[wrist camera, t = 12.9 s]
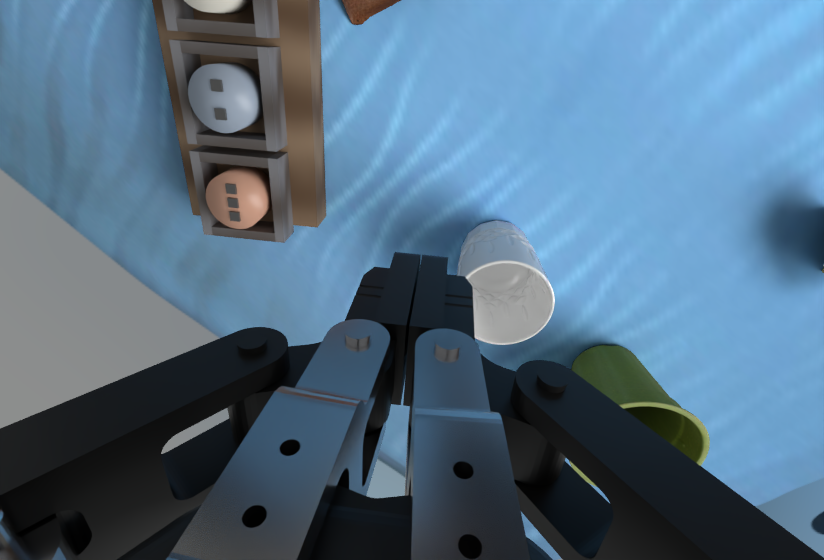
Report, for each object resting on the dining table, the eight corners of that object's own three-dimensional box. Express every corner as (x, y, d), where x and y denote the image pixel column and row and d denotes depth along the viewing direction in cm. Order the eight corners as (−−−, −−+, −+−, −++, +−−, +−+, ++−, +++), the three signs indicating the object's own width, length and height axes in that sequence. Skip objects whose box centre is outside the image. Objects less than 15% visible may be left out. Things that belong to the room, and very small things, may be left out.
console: (160, -85, 33) (108, -105, 28) (316, -75, 32) (291, -94, 27) (210, 210, 44) (179, 231, 40) (326, 222, 44) (309, 245, 39)
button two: (203, 59, 34) (180, 61, 31) (263, 64, 34) (245, 67, 31) (213, 123, 37) (192, 130, 34) (269, 128, 36) (253, 136, 33)
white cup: (448, 278, 45) (445, 335, 37) (464, 207, 42) (464, 252, 33) (523, 292, 45) (538, 352, 37) (546, 221, 41) (568, 270, 33)
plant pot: (580, 310, 46) (613, 385, 36) (682, 347, 47) (741, 429, 37) (529, 388, 51) (545, 471, 42) (620, 419, 52) (656, 508, 42)
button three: (219, 162, 38) (199, 172, 35) (272, 167, 38) (257, 177, 35) (226, 214, 40) (209, 227, 38) (277, 219, 40) (263, 232, 37)
